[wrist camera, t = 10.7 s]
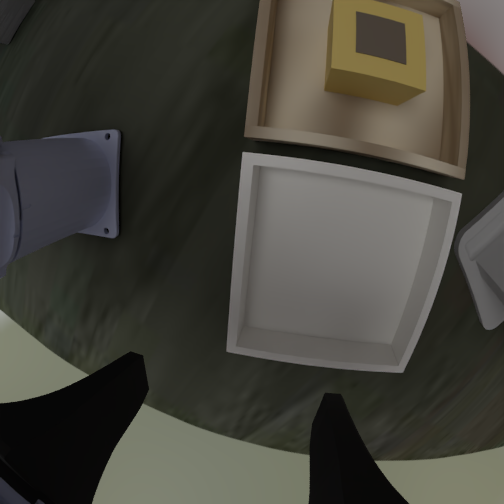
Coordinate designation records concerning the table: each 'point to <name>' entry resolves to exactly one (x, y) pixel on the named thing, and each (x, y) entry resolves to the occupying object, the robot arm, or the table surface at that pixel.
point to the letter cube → (375, 51)
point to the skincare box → (12, 17)
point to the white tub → (335, 263)
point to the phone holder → (484, 261)
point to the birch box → (356, 108)
